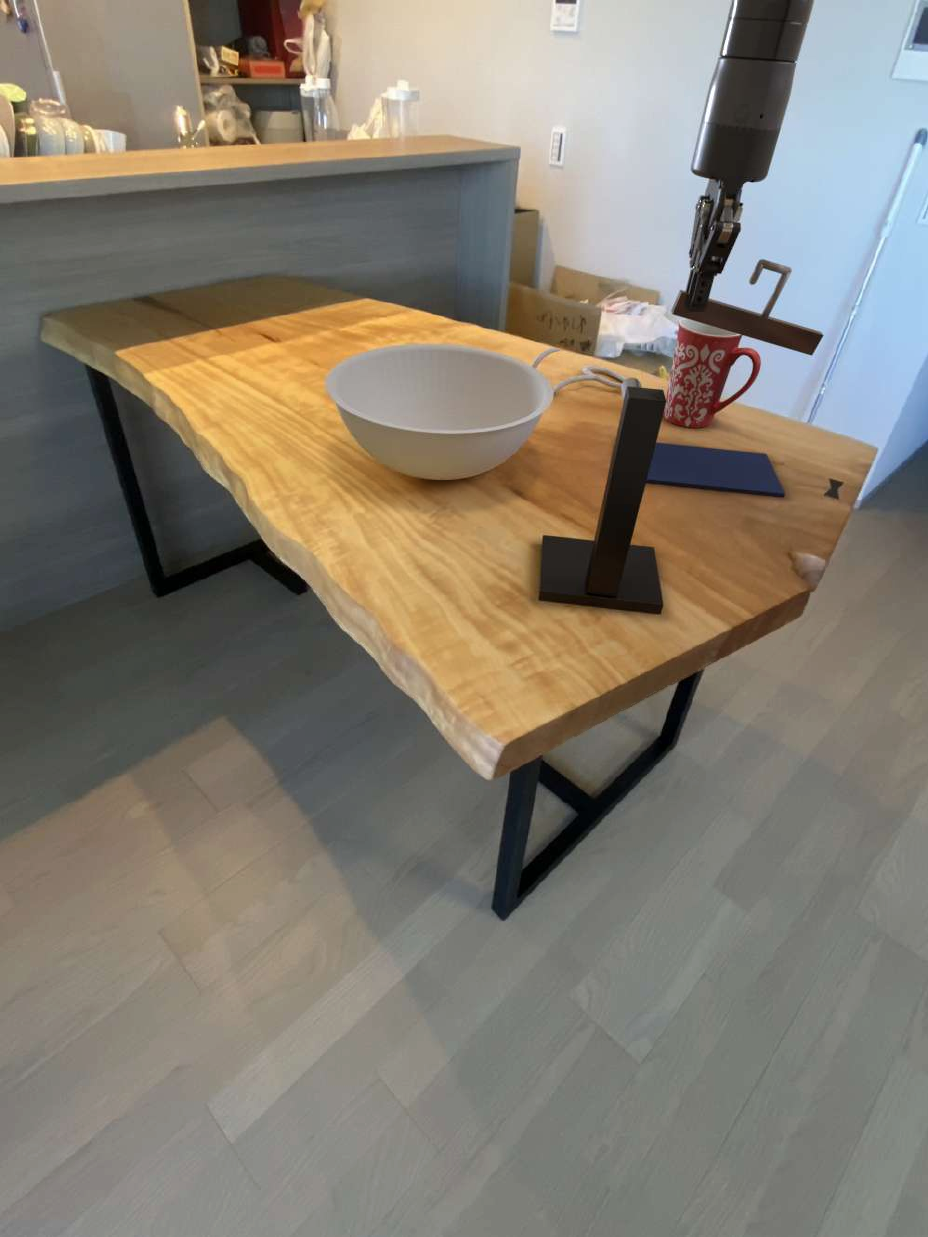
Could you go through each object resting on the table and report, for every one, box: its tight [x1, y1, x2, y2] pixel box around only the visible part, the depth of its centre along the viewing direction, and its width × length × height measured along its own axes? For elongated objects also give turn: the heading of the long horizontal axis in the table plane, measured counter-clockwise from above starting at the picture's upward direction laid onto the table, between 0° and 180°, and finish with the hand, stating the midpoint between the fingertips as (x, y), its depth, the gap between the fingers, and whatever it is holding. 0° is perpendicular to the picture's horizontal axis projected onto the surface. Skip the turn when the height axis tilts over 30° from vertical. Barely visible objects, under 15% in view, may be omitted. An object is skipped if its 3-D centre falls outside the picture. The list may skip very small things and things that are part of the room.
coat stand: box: [538, 377, 666, 615], centre depth 65 cm, size 12×10×21 cm
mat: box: [646, 442, 786, 498], centre depth 91 cm, size 20×11×1 cm, turn 83°
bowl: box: [324, 343, 555, 481], centre depth 86 cm, size 27×27×10 cm
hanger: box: [670, 258, 825, 357], centre depth 76 cm, size 17×1×8 cm, turn 84°
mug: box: [663, 317, 762, 429], centre depth 98 cm, size 13×9×14 cm
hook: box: [531, 347, 629, 394], centre depth 108 cm, size 7×9×20 cm
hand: (693, 307), depth 78 cm, fingers closed on hanger, 1 cm apart
